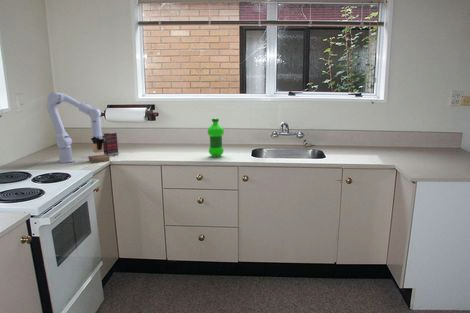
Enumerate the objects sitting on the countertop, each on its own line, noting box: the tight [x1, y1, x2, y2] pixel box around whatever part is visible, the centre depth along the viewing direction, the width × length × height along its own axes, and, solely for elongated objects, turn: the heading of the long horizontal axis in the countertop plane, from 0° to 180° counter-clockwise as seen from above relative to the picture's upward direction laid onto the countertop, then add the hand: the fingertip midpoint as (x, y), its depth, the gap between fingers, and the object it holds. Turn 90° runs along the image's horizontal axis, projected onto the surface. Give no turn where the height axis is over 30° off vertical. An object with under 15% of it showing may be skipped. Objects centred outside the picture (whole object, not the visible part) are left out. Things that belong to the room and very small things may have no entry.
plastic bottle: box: [207, 117, 225, 158], centre depth 255 cm, size 10×10×25 cm
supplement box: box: [102, 131, 119, 157], centre depth 264 cm, size 9×5×16 cm, turn 135°
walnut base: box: [88, 153, 110, 164], centre depth 249 cm, size 10×10×3 cm
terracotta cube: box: [92, 143, 104, 154], centre depth 247 cm, size 5×5×5 cm
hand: (98, 149), depth 247 cm, fingers closed on terracotta cube, 5 cm apart
